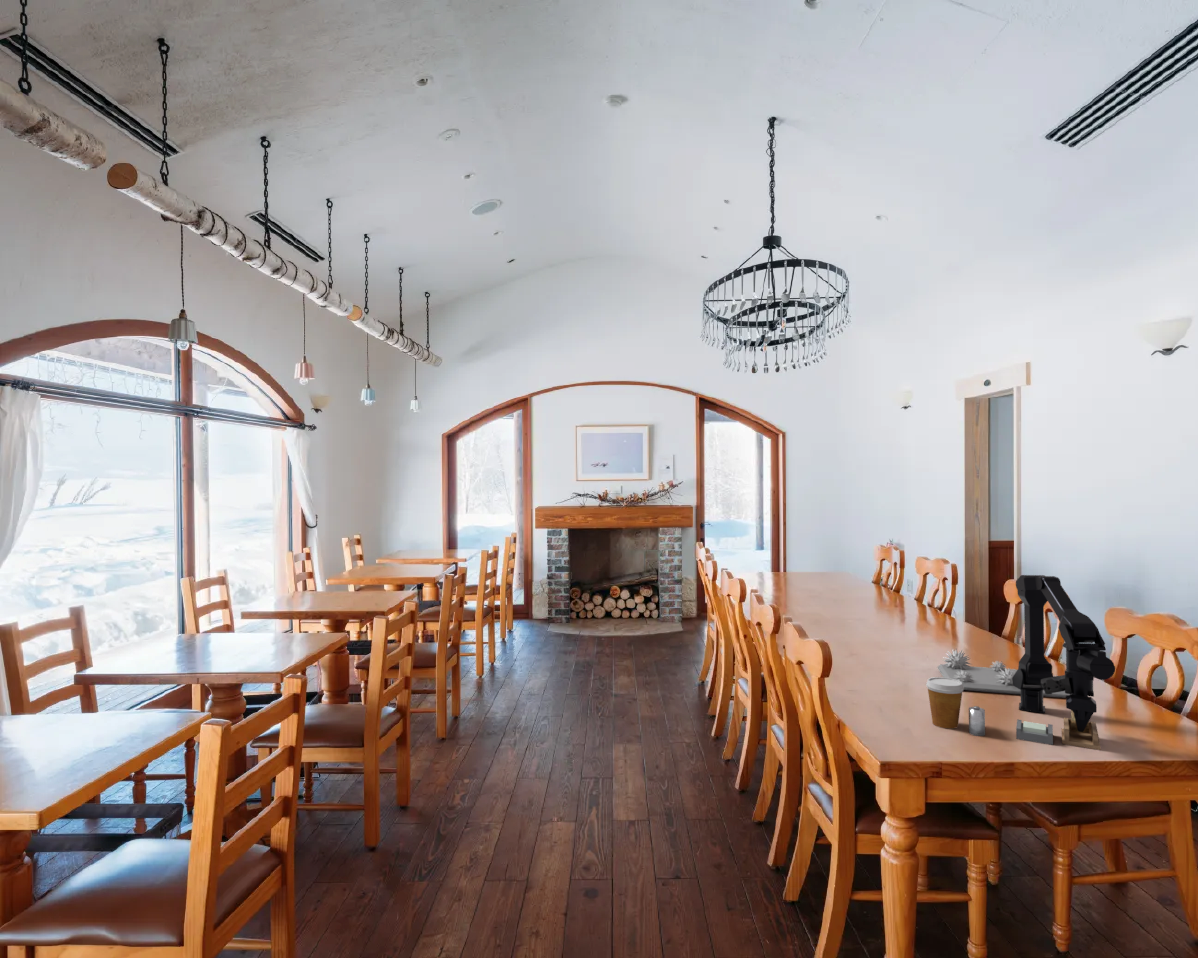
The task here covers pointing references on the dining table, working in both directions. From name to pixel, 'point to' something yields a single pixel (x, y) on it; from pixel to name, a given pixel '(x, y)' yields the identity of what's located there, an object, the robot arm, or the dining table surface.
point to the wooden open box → (1080, 736)
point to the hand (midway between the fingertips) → (1080, 729)
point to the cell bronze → (1074, 726)
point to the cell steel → (976, 721)
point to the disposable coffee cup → (945, 701)
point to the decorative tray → (983, 676)
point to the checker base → (1034, 734)
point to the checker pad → (1034, 727)
